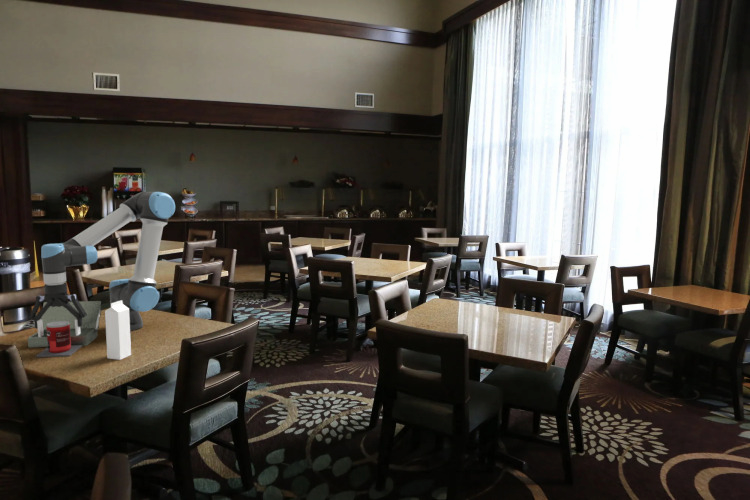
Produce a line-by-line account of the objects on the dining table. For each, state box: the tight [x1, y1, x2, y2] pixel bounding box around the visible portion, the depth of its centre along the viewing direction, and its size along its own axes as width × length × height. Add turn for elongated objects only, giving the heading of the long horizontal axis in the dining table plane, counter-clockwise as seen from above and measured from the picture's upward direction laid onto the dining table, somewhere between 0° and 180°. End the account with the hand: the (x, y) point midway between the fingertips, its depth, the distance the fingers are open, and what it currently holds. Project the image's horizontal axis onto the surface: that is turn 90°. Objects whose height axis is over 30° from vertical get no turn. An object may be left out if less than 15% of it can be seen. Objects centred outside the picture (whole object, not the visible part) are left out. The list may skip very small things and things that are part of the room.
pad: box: [35, 345, 83, 358], centre depth 201 cm, size 12×12×1 cm
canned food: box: [46, 321, 71, 353], centre depth 200 cm, size 8×8×11 cm
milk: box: [104, 300, 132, 361], centre depth 195 cm, size 6×6×22 cm
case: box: [27, 300, 102, 349], centre depth 215 cm, size 24×17×15 cm
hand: (59, 335), depth 200 cm, fingers open, 13 cm apart
